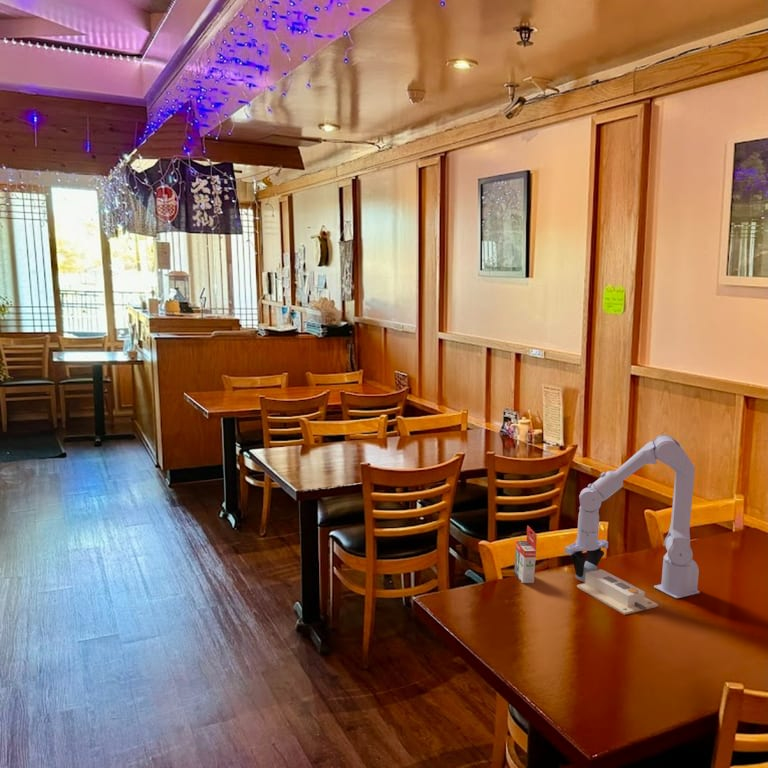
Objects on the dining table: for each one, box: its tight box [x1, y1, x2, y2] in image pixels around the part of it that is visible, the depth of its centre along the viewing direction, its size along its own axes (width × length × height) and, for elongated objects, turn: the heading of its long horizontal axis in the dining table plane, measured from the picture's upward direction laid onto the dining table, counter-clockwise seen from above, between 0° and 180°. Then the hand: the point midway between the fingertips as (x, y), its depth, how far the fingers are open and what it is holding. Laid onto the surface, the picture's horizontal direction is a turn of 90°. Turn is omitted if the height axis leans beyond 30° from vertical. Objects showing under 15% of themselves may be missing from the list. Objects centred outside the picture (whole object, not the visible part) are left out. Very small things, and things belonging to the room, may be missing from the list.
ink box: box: [513, 525, 538, 584], centre depth 195 cm, size 4×8×15 cm, turn 7°
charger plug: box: [574, 560, 598, 584], centre depth 194 cm, size 4×8×4 cm, turn 26°
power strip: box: [576, 569, 659, 615], centre depth 184 cm, size 12×19×4 cm, turn 26°
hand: (585, 574), depth 195 cm, fingers closed on charger plug, 4 cm apart
